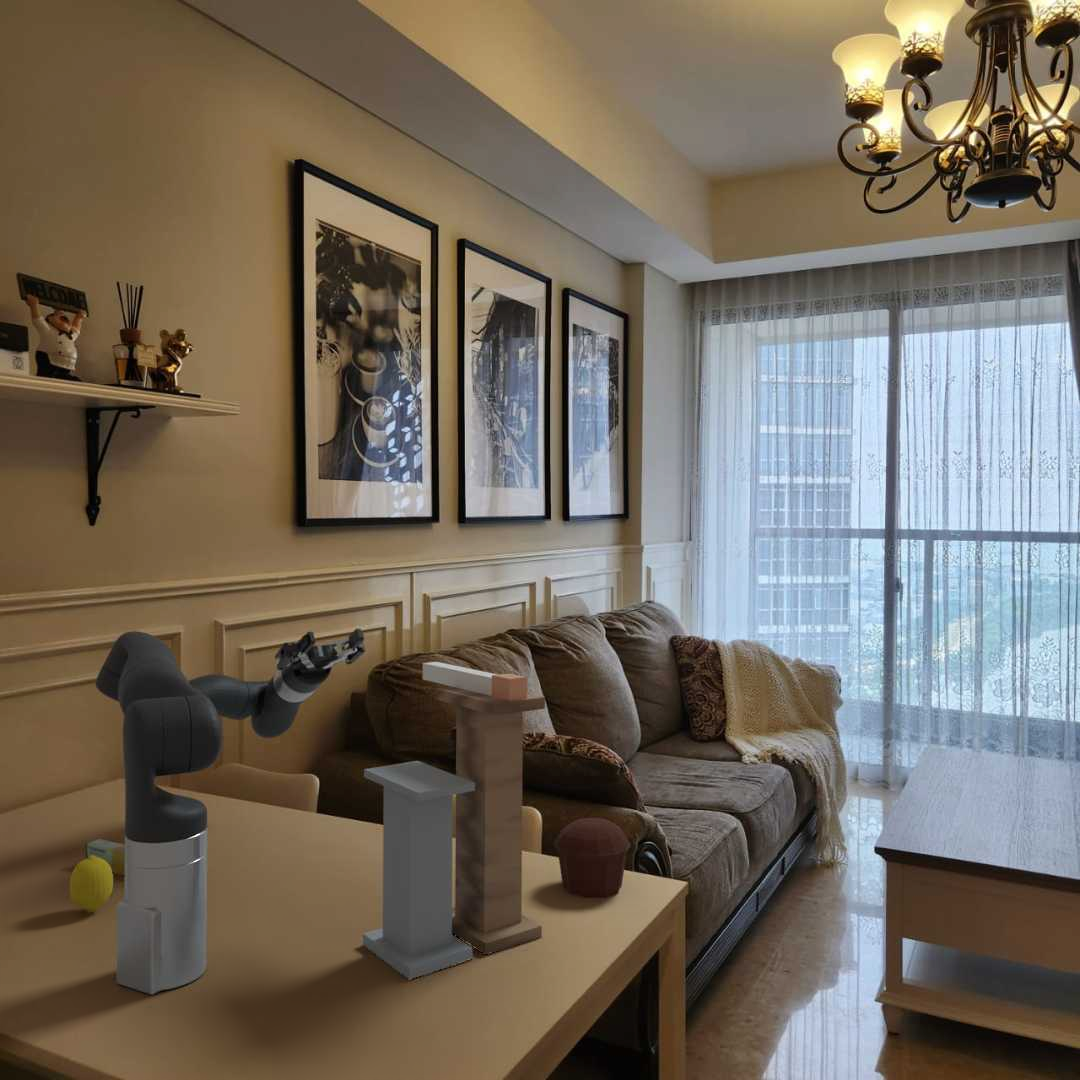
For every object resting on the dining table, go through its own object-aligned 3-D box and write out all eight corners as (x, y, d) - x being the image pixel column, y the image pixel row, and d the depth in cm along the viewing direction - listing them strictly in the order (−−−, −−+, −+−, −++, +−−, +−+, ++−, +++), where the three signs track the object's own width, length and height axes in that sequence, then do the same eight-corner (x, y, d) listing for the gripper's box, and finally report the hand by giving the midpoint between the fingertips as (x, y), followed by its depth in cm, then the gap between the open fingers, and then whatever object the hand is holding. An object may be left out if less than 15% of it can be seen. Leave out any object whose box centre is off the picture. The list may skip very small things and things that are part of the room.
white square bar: (421, 679, 136) (421, 660, 136) (437, 677, 138) (437, 659, 138) (509, 700, 119) (509, 679, 119) (526, 698, 120) (527, 677, 120)
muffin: (611, 869, 148) (611, 807, 148) (643, 894, 138) (644, 827, 138) (542, 879, 144) (542, 814, 144) (570, 905, 133) (570, 836, 133)
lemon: (120, 905, 132) (121, 849, 132) (98, 921, 127) (99, 863, 127) (84, 903, 133) (84, 848, 133) (60, 919, 127) (60, 861, 127)
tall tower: (432, 921, 128) (433, 689, 127) (485, 905, 133) (487, 683, 133) (490, 958, 116) (491, 703, 116) (546, 939, 122) (548, 696, 122)
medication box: (84, 867, 148) (84, 842, 148) (99, 862, 150) (98, 837, 150) (137, 880, 143) (137, 854, 143) (152, 874, 145) (151, 849, 145)
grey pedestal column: (359, 942, 121) (360, 769, 121) (419, 925, 126) (420, 760, 126) (413, 983, 110) (415, 793, 110) (476, 962, 115) (478, 781, 115)
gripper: (258, 657, 160) (291, 616, 149) (334, 651, 169) (370, 612, 158) (266, 698, 157) (300, 659, 146) (343, 690, 166) (381, 653, 155)
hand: (336, 635), depth 152 cm, fingers open, 8 cm apart
